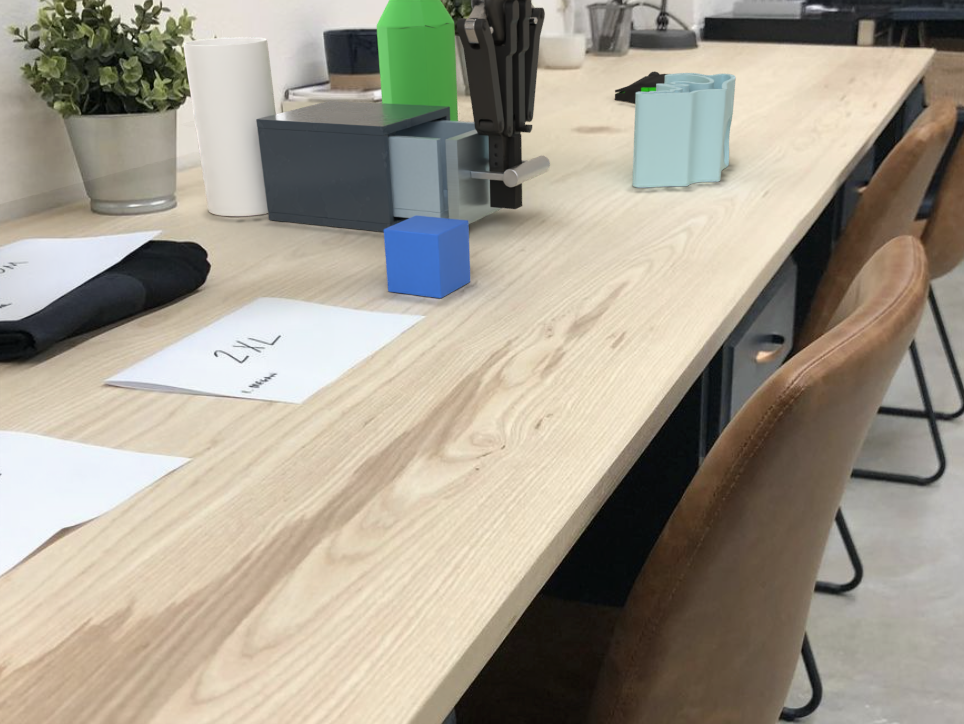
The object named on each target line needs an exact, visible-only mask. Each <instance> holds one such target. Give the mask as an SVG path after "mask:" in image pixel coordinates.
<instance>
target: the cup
mask: <svg viewBox="0 0 964 724" xmlns="http://www.w3.org/2000/svg"><path fill="white" fill-rule="evenodd" d="M182 46H183V52H184V54H183V55H184V59H185V67H186V72H187V81H188V87H189V93H190V99H191V107H192V112H193V119H194V125H195V132H196V139H197V145H198V152H199V159H200V165H201V166H200V167H201V171H202V172H201V173H202V178H203V179H202V180H203V185H204V193H205V198H206V205H207V211H208V212H209V213H210V214H212V215H216V216H220V217H221V216H222V217H251V216H252V217H253V216H259V215H266V214H267V215H268V209H267V201H266V193H265V185H264V177H263V169H262V161H261V153H260V145H259V137H258V129H257V122H256V119H259V118H263V117H267V116H271V115H275V114H277V113H276V103H275V102H276V101H275V96H274V87H273V78H272V69H271V61H270V51H269V43H268V39H267V38H264V37H256V36H255V37H253V36H251V37H250V36H236V37H235V36H233V37H231V36H230V37H215V38H214V37H213V38H204V39H203V38H201V39H196V40H194V39H193V40H188V41H185V42H183V45H182Z"/></svg>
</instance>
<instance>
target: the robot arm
mask: <svg viewBox="0 0 964 724" xmlns="http://www.w3.org/2000/svg"><path fill="white" fill-rule="evenodd" d="M470 6H471V8H472V10H471V12H470V13H469V16H468V18H467V17H465V18H464V17H462V18H458V19H457V22H456V30H457V34H458V36H459V39H460V43H461V46H462V48H463V55H464V61H465V68H466V77H467V82H468V89H469V96H470V103H471V110H472V119H473V122H474V125H475V129H476V131H477V133H478V134H479V135H485V136H488V138H489V172H502V173H504V172H505V171H506V170H507V169H510V168H512V167H514V166H517V165H519V164H522V160H523V155H522V154H523V151H522V149H523V148H522V144H523V143H522V142H523V141H522V133H527V134H529V133H531V132H532V130H533V124H526V123H531V122H532V121H533V120H534V111H535V102H536V101H535V100H536V99H535V98H536V87H537V77H538V66H539V54H540V43H541V35H542V31H543V26H544V22H545V17H546V12H545V8H543V7H535V6H534V5H533V3H532V0H470ZM490 207H495V208H502V209H507V210H508V209H509V210H517V209H519V208H521V207H523V183H521V184H519V185H517V186H514V187H508V186H506V185H505V183H504V182H503V180H490Z"/></svg>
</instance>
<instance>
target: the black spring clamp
mask: <svg viewBox="0 0 964 724" xmlns="http://www.w3.org/2000/svg"><path fill="white" fill-rule="evenodd" d="M667 74H668V73H660V72H658V71H651V72H650V73H649V74H648V75H645V76H643V77H641V78H639V79H638V80H636V81H634V82H632V83H631V84H629V85H627V86H624V87H620V88H618V89H614V101H619V102H626V103H631V104H635V98H636V92H649V91H656V84H664V81H665V75H667Z"/></svg>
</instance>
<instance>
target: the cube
mask: <svg viewBox="0 0 964 724" xmlns="http://www.w3.org/2000/svg"><path fill="white" fill-rule="evenodd" d="M469 225H470V224H469V223H468V221H467V220H458V219H449V218H437V217H426V216H414V217H411V218H409V219H407V220H404V221H402V222H400V223H397V224H395V225H393V226H390V227H388V228H386V229H384V232H383V242H384V253H385V255H384V256H385V270H386V281H387V282H386V283H387V291H388V292H390V293H397V294H404V295H413V296H419V297H420V296H421V297H427V298H433V299H435V298H436V299H442V298H444V297H446V296H447V295H450V294H451V293H454V292H455V291H457V290H459V289H461V288H463V287H464V286H465V285H467V284H469V283H471V258H470V257H471V254H470V253H471V251H470V229H469Z"/></svg>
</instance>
